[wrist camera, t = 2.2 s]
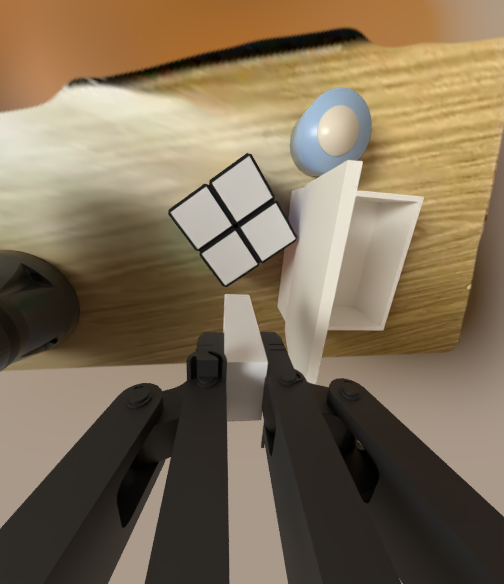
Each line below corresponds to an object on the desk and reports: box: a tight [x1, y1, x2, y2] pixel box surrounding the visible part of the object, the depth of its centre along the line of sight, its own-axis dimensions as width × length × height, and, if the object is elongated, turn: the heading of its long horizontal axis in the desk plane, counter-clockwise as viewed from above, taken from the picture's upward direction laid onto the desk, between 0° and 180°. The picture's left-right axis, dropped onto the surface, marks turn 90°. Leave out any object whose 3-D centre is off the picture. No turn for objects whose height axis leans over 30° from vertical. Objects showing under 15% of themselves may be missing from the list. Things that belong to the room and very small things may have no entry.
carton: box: [277, 188, 424, 330], centre depth 33 cm, size 14×18×8 cm
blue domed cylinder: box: [290, 88, 372, 177], centre depth 29 cm, size 8×8×6 cm
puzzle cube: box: [168, 153, 297, 287], centre depth 29 cm, size 10×10×10 cm
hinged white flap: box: [285, 160, 363, 385], centre depth 22 cm, size 14×18×1 cm
